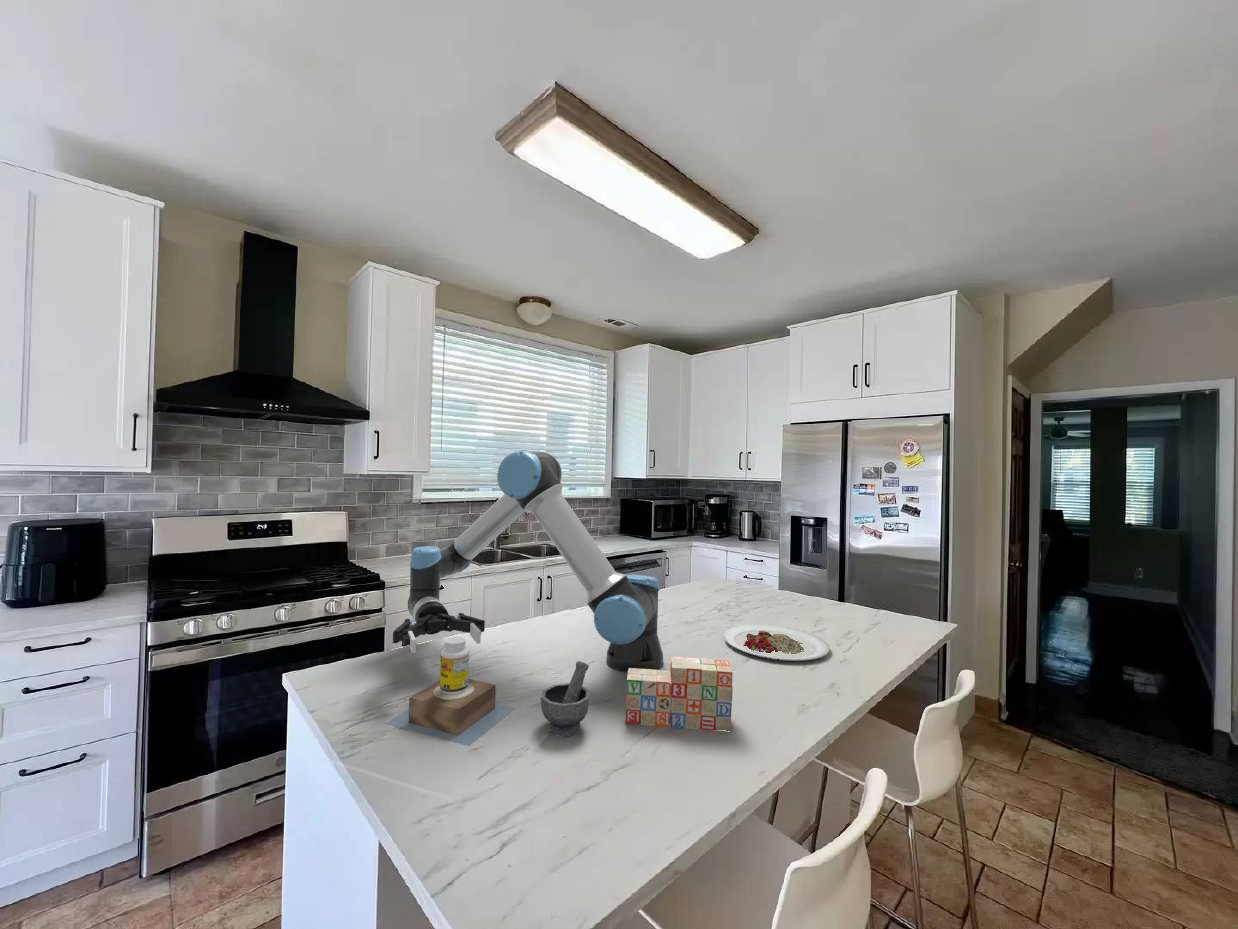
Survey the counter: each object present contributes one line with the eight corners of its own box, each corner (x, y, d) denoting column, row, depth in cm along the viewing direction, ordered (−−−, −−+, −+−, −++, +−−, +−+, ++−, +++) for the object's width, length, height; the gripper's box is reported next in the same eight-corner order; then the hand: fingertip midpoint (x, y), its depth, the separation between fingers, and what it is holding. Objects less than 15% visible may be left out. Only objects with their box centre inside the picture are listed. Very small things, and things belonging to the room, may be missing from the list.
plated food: (838, 643, 159) (838, 632, 159) (817, 675, 133) (817, 662, 133) (743, 624, 175) (743, 614, 175) (708, 650, 149) (709, 638, 149)
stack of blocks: (624, 725, 105) (626, 664, 105) (627, 710, 111) (628, 653, 111) (731, 733, 103) (733, 671, 103) (727, 717, 109) (729, 659, 109)
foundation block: (495, 708, 109) (495, 683, 109) (458, 735, 98) (459, 708, 98) (449, 697, 113) (449, 674, 113) (408, 722, 102) (409, 696, 102)
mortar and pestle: (566, 747, 96) (567, 682, 96) (530, 731, 101) (531, 670, 101) (602, 723, 105) (604, 664, 105) (567, 709, 110) (569, 653, 110)
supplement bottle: (436, 687, 107) (437, 638, 107) (463, 682, 110) (464, 633, 110) (443, 698, 102) (445, 646, 102) (471, 692, 105) (473, 641, 105)
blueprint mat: (516, 710, 110) (516, 708, 110) (469, 747, 95) (469, 745, 95) (440, 692, 117) (440, 690, 117) (385, 725, 102) (385, 723, 102)
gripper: (479, 624, 137) (503, 650, 118) (375, 637, 124) (384, 669, 106) (480, 595, 137) (504, 617, 118) (376, 606, 124) (385, 632, 106)
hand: (447, 642), depth 112 cm, fingers open, 13 cm apart
